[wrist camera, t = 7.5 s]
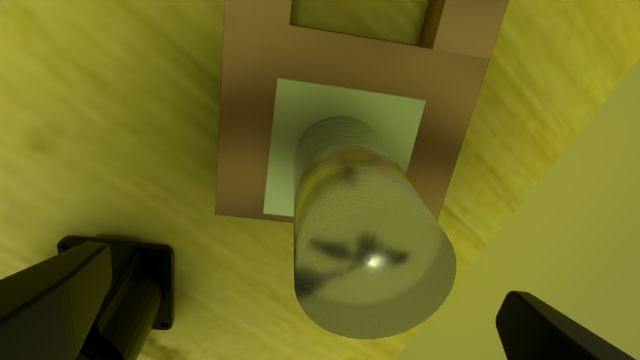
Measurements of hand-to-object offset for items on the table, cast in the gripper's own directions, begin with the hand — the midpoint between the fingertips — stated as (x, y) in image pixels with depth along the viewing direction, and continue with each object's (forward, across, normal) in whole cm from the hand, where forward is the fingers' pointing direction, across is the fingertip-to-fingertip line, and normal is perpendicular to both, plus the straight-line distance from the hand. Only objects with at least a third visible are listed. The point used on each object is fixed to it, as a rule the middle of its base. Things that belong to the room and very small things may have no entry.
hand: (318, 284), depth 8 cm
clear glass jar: (+10, -2, +1) cm, 11 cm away
